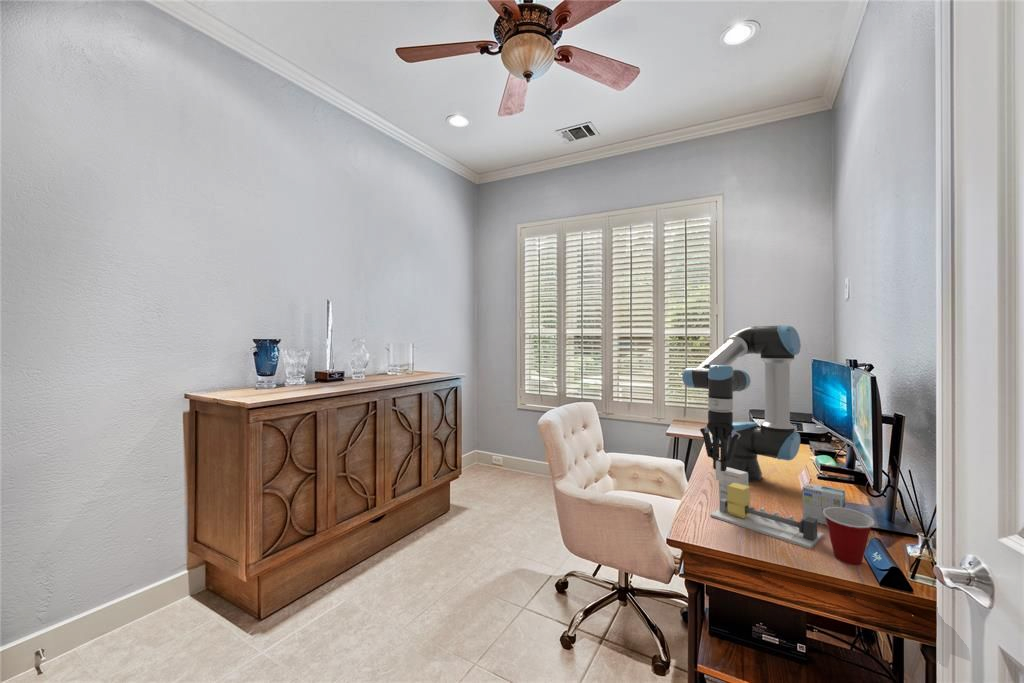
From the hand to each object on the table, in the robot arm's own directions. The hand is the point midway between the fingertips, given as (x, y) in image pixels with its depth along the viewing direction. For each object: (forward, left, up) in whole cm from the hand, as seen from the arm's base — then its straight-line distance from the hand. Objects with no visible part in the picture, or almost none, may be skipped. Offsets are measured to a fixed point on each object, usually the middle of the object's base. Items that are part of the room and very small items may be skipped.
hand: (719, 479), depth 141 cm
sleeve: (0, +6, -10) cm, 12 cm away
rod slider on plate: (0, +14, -11) cm, 18 cm away
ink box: (-12, 0, -11) cm, 17 cm away
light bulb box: (-19, +25, -11) cm, 33 cm away
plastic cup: (+5, +36, -11) cm, 38 cm away
